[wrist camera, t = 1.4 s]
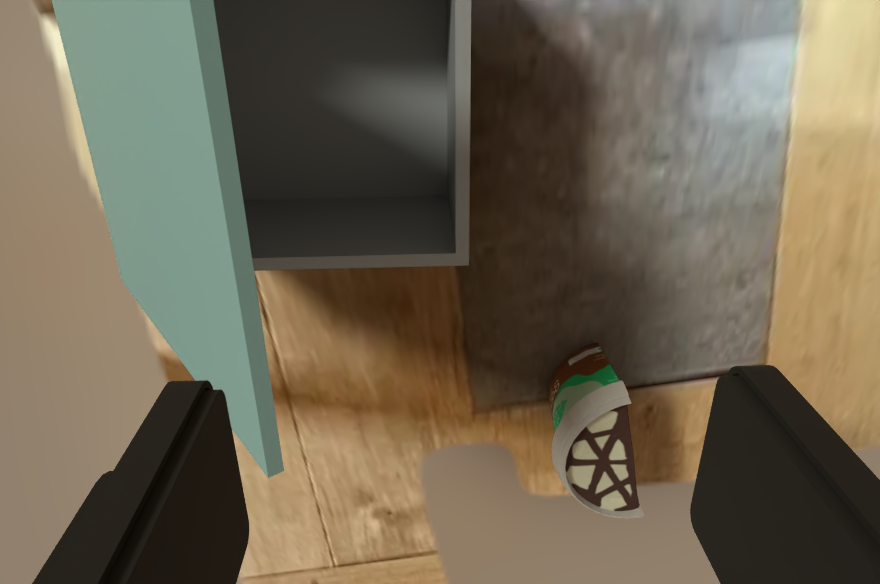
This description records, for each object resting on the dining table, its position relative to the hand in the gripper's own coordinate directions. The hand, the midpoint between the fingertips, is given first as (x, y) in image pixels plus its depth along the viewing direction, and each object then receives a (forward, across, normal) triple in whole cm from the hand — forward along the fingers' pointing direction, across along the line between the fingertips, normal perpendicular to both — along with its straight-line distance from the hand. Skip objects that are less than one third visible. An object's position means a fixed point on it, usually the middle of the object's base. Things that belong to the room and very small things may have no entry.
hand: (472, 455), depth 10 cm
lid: (+19, +12, 0) cm, 23 cm away
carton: (+40, +8, 0) cm, 41 cm away
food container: (+40, -12, +27) cm, 50 cm away
